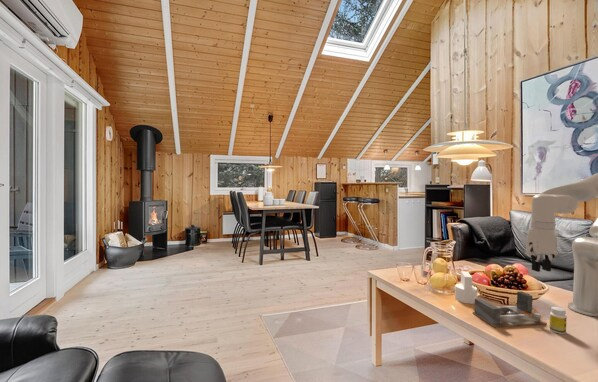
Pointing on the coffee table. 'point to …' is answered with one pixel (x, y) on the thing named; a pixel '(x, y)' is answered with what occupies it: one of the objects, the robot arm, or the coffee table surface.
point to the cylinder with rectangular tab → (465, 289)
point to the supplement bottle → (558, 320)
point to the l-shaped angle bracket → (521, 305)
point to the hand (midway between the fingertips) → (541, 270)
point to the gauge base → (504, 315)
